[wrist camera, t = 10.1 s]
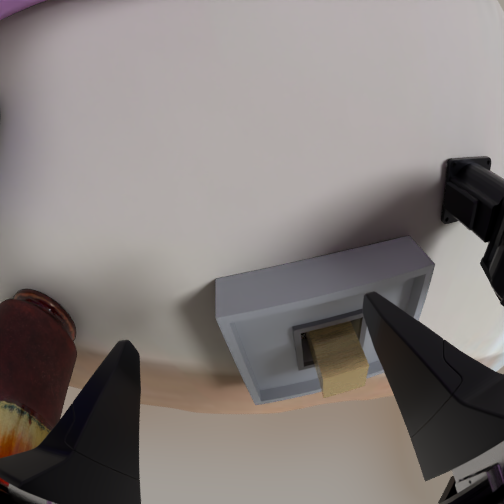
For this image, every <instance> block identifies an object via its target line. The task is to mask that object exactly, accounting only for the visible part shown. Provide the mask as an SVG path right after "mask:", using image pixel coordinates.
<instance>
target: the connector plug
mask: <svg viewBox="0 0 504 504" xmlns="http://www.w3.org/2000/svg"><path fill="white" fill-rule="evenodd" d="M305 333H306V337H307V341H308V344H309V348H310V351H311V355H312V358H313V362H314V365H315V369H316V372H317V376H318V379H319V383H320V387H321V390H322V394H323V398H326V397H329V396H333V395H336V394H340V393H343V392H347V391H350V390H353V389H356V388H359V387H362V386H365V381H366V377H367V373H368V368H369V364H368V361H367V359H366V356H365V354H364V351H363V349H362V347H361V344H360V342H359V340H358V337H357V335H356V333H355V330H354V328H353V326H352V324H351V321H348V322H344V323H340V324H336V325H333V326H329V327H325V328H321V329H317V330H313V331H309V332H305Z"/></svg>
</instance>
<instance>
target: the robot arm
mask: <svg viewBox="0 0 504 504" xmlns="http://www.w3.org/2000/svg"><path fill="white" fill-rule="evenodd" d="M452 164H453V165H452ZM490 167H491V159H490V158H489V157H487V156H483V157H466V158H453V159H450V160H449V161H448V164H447V176H446V186H445V194H444V202H443V209H442V216H441V221H442V222H443V223H444V224H448V223H452V222H456V221H460V222H461V223H462V224H463V225H464V226H465V227H466V228H468V229H469V230H472V231H473V232H474V233H475V234H476V235H477V236H478V237H479V238H480V239H481V240H483V241H484V242H485V243H486V242H488V243H489V244H488V247H487V249H486V252H485V254H484V257H483V258H482V259H481V262H480V265H481V266H482V268H483V270H484V272H485V274H486V276H487V278H488V280H489V282H490V283H491V286H492V288H493V290H494V292H495V294H496V295H497V297H498V299H499V300H500V301H501V302H500V303H501V305H503V306H504V179H503V178H501V177H500V176H498V175H497V174H495V173H493V172H492V171H490ZM362 312H363V316H364V319H365V322H366V325H367V328H368V331H369V334H370V337H371V340H372V343H373V346H374V349H375V352H376V354H377V356H378V358H379V361H380V363H381V365H382V368H383V370H384V372H385V375H386V377H387V379H388V382H389V384H390V386H391V389H392V391H393V394H394V396H395V399H396V401H397V404H398V406H399V409H400V411H401V414H402V416H403V419H404V422H405V424H406V427H407V430H408V432H409V435H410V438H411V441H412V444H413V446H414V449H415V452H416V455H417V458H418V461H419V464H420V467H421V470H422V473H423V477H424V479H425V481H427V480H430V479H432V478H435V477H437V476H439V475H441V474H444V473H446V472H448V471H450V470H452V472H453V475H454V476H452V477H451V479H450V480H449V483H448V485H447V487H446V489H445V491H444V493H443V495H442V496H441V498H440V500H439V502H438V503H439V504H504V374H500V373H497V372H495V371H493V370H492V369H490V368H488V367H486V366H485V365H483V364H481V363H480V362H478V361H476V360H475V359H473V358H471V357H469V356H468V355H466V354H465V353H463V352H461V351H460V350H458V349H457V348H456V347H454V346H453V345H451V344H450V343H449V342H447V341H446V340H443V338H441V337H440V336H439V335H437V334H436V333H435V332H433V331H432V330H430V329H429V328H428V327H426V326H425V325H423V324H422V323H421V322H419V321H418V320H416V319H415V318H413V317H412V316H411V315H409V314H408V313H406V312H405V311H403V310H402V309H400V308H399V307H398V306H396V305H395V304H393V303H392V302H390V301H389V300H387V299H386V298H384V297H383V296H382V295H380V294H379V293H377V292H375V291H372V292H369V293H365V294H364V298H363V307H362ZM140 394H141V384H140V356H139V353H138V351H137V350H136V348H135V347H134V346H133V344H132V343H131V342H130V341H129V340H121V341H119V342H118V343H117V344H116V345H115V347H114V348H113V349H112V350H111V352H110V353H109V354H108V356H107V357H106V358H105V360H104V361H103V362H102V363H101V365H100V366H99V367H98V369H97V370H96V371H95V373H94V374H93V375H92V377H91V378H90V379H89V381H88V382H87V384H86V385H85V386H84V388H83V389H82V391H81V392H80V393H79V394H78V396H77V397H76V399H75V400H74V401H73V404H71V406H70V407H69V408H68V410H67V411H66V413H65V414H64V415H63V417H62V418H61V419H60V420H59V422H58V423H57V424H56V425H55V427H54V428H53V429H52V430H51V431H50V433H49V434H48V435H47V436H46V437H45V439H44V440H43V441H42V442H41V443H40V444H39V445H38V446H37V447H35V448H34V449H31V450H28V451H25V452H22V453H18V454H14V455H11V456H7V457H3V458H0V478H1V479H3V480H4V481H6V482H8V483H9V487H8V486H6V485H3V484H1V483H0V504H141V497H140V480H139V479H140V478H139V416H140V415H139V414H140Z"/></svg>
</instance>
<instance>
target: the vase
mask: <svg viewBox="0 0 504 504" xmlns="http://www.w3.org/2000/svg"><path fill="white" fill-rule="evenodd" d="M75 337H76V327H75V325H74V322H73V320H72V319H71V317H70V316H69V314H68V313H67V312H66V311H65V310H64V309H63V308H62V307H61V306H60V305H59V304H58V303H57V302H56V301H54V300H53V299H52V298H50V297H48V296H47V295H45V294H43V293H41V292H39V291H36V290H32V289H22V290H20V291H18V292H17V293H16V294H15V296H14V298H13V299H7V300H5V301H3V302H2V303H1V304H0V458H3V457H7V456H11V455H14V454H18V453H22V452H25V451H28V450H31V449H34V448H35V447H37V446H38V445H39V444H40V443H41V442H42V441H43V440H44V439H45V437H46V436H47V435H48V434H49V433H50V431H51V430H52V429H53V428H54V427H55V425H56V424H57V423H58V422H59V420H60V417H61V413H62V409H63V405H64V400H65V397H66V393H67V389H68V386H69V382H70V379H71V376H72V372H73V368H74V365H75V361H76V358H77V351H76V347H75V344H74V342H73V341H74V340H75ZM0 483H1V484H3V485H6V486H8V487H9V483H8V482H6V481H4V480H3V479H1V478H0Z"/></svg>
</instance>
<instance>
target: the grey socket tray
mask: <svg viewBox="0 0 504 504" xmlns="http://www.w3.org/2000/svg"><path fill="white" fill-rule="evenodd" d="M434 266H435V264H434V262H433V261H432V260H431V259H430V258H429V257H428V256H427V254H426V253H425V252H424V251H423V250H422V249H421V248H420V247H419V246H418V245H417V243H416V242H415V241H414V240H413V239H412V238H411V237H410V236H405V237H401V238H397V239H393V240H389V241H384V242H380V243H376V244H372V245H367V246H363V247H359V248H355V249H350V250H346V251H342V252H337V253H333V254H328V255H324V256H320V257H315V258H311V259H306V260H302V261H297V262H293V263H288V264H283V265H279V266H274V267H270V268H265V269H260V270H256V271H251V272H246V273H241V274H237V275H232V276H227V277H222V278H217V279H216V297H215V301H216V320H217V323H218V325H219V327H220V330H221V332H222V334H223V337H224V339H225V341H226V343H227V346H228V348H229V350H230V352H231V355H232V357H233V359H234V361H235V363H236V365H237V368H238V370H239V372H240V374H241V376H242V378H243V380H244V383H245V385H246V387H247V389H248V391H249V393H250V395H251V397H252V399H253V401H254V403H255V405H259V404H265V403H271V402H276V401H281V400H286V399H291V398H296V397H300V396H305V395H309V394H313V393H317V392H321V391H322V390H321V387H320V383H319V379H318V376H317V372H316V369H315V365H314V362H313V358H312V355H311V351H310V348H309V344H308V341H307V339H303V340H301V333H304V332H309V331H313V330H317V329H321V328H325V327H329V326H333V325H336V324H340V323H344V322H348V321H351V324H352V326H353V328H354V330H355V333H356V335H357V337H358V340H359V342H360V344H361V347H362V349H363V351H364V354H365V356H366V359H367V361H368V364H369V368H368V373H367V377H366V378H369V377H372V376H375V375H378V374H381V373H384V370H383V368H382V365H381V363H380V361H379V358H378V356H377V354H376V352H375V349H374V346H373V343H372V340H371V337H370V334H369V331H368V328H367V325H366V322H365V319H364V316H363V312H362V307H363V298H364V294H365V293H369V292H372V291H375V292H377V293H379V294H380V295H382V296H383V297H384V298H386V299H387V300H389V301H390V302H392V303H393V304H395V305H396V306H398V307H399V308H400V309H402V310H403V311H405V312H406V313H408V314H409V315H411V316H412V317H413V318H415V319H416V320H419V317H420V314H421V311H422V308H423V305H424V302H425V299H426V296H427V292H428V289H429V285H430V282H431V278H432V274H433V270H434Z"/></svg>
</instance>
